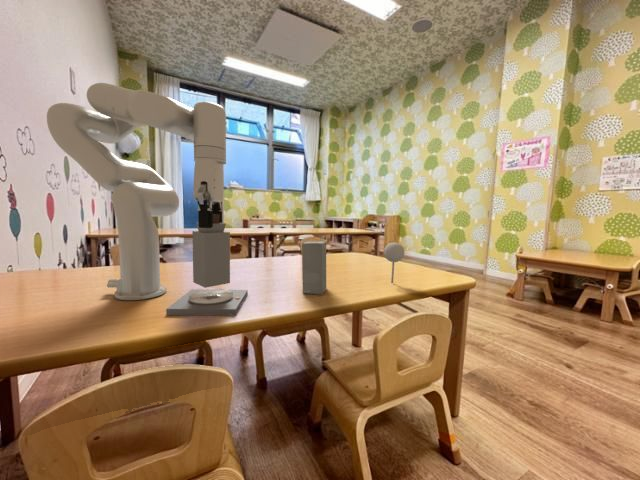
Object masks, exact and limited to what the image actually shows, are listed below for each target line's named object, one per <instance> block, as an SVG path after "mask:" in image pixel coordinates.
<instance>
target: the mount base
mask: <svg viewBox="0 0 640 480" xmlns="http://www.w3.org/2000/svg"><path fill="white" fill-rule="evenodd" d="M247 296H248V289H225V288H224V289H223V288H207V289H206V288H205V289H198V288H197V289H196V288H194V289H190V290H189V291H188V292H186V293H185V294H184V295H182V296H181V297H180V298H178V299H177V300H176V301H174V302H173V303H172V304H171V305H169V306H168V307H166V309H165V310H166V311H165V314H166V315H165V316H237V314H238V312H239V310H240V309H241V307H242V305H243V303H244V302H245V300H246V298H247Z"/></svg>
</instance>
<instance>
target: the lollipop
mask: <svg viewBox="0 0 640 480" xmlns="http://www.w3.org/2000/svg"><path fill="white" fill-rule="evenodd" d="M383 255H384V258H385V259H386V260H387V261H389V262H391V263H392V264H391V281H390V284H391V283H393V284H394V278H395V277H394V273H395V272H394V271H395V263H398V262H400V261H402V260H403V259H404V256H405V248H404V247H403V246H402V244H401V243H398V242H396V241H395V242H390V243H388V244H387V245H385V247H384V249H383Z"/></svg>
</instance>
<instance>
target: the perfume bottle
mask: <svg viewBox="0 0 640 480" xmlns="http://www.w3.org/2000/svg"><path fill="white" fill-rule="evenodd" d="M219 220H220V214H213V227H212V228H199V221H197V222H195V224H196V226H197V230H192V233H191V234H192V282H193V283H194V284H196V285H199V286H200V287H202V288H205V289H206V288H211V287H216V286H222V285H228V284H230V283H231V239H230V238H231V233H230V231H225V227H226V225H227V223H224V222H222V223H219Z"/></svg>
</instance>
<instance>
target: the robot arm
mask: <svg viewBox="0 0 640 480" xmlns="http://www.w3.org/2000/svg"><path fill="white" fill-rule="evenodd" d="M86 98H87V99H86V100H87V102H88V103H89V105H90V106H91V107H92V108H93V109H92V108H91V109H90V108H88V107H85V106H83V105H82V106H81V105H78V104H74V103H68V102H57V103H55V104H52V105H50V106H49V108H48V110H47V112H46V123H47V124H46V125H47V128H48V131H49V133H50V135H51V137H52V139H53V141H54V142H55V144H56V145H57V146H58V147H59V148H60V149H61V150H62V151H63V152H64V153H65V154H67V155H68V156H69V157H70V158H72V160H74V161H75V162H76V163H77V164H78V165H80V167H81V168H82V169H83V170H84V171H85V172H86V173H87V174H88V175H89V176H90V177H91V178H92V179H93V180H94V181H95V182H96V183H97V184H98V185H99V186H100V187H101V188H102V189H104V190H105V191H108V192H112V194H111V202H112V206H113V210H114V213H115V214H114V215H115V217H116V222H117V223H116V224H117V235H118V251H119V253H118V254H119V271H120V272H119V274H120V279H119V278H118V279H117V278H115V279H113V278H111V279H108V281H107V284H106V287H107V288H111V289H112V288H116V290H115V292H114V298H115V299H116V300H121V301H139V300H140V301H141V300H148V299H153V298H156V297H160V296H163V295H164V294H166V292H167V287H166V286H165V285H162V284H161V268H160V267H161V266H160V265H161V264H160V260H161V259H160V239H159V236H160V235H159V229H158V227H157V225H156V223H155V220H153V218H152V217H169V216H170V215H171V216H172V215H173V214H175V213H176V212H177V211H178V209H179V206H180V199H179V196H178V194H177V192H176V190H175V189H174V188H173V187H172V186H171V185H170V184H169V183H168V181H166V180H165V179H164V178H163V177H161V175H159V174H158V172H156V170H154V169H153V168H152V167H150V166H148V165H146V164H145V163H141V162H137V161H136V162H135V161H131V160H126V159H123V158H120V157H118V156H117V155H115V154H114V153H113V152H112V151H111V150H110V149H109V148H108V147H107V146H106V145H104V144H116V143H118V142H121V141H123V140H124V139H125V138H126V137H127V136H129V135H130V134H132V133H133V132H134V131H136V130H137V129H138V128H140V127H146V126H149V127H152V128H156V129H158V130H161V131H164V132H167V133H171V134H173V135H176V136H178V137H181V138H185V139H187V140H193V162H194V168H193V169H194V170H193V189H192V190H193V192H192V194H193V195H192V196H193V197H192V198H193V200H195V201H196V202H197V205H198V206H197V211H198V212H197V213H198V215H197V216H198V221H197V222H199V228H212V227H213V214H220V220H219V223H223V206H222V202H223V201H224V195H225V193H224V189H225V187H224V169H223V166H224V165H226V164H227V123H226V122H227V121H226V120H227V116H226V115H227V114H226V110H225V108H224V107H223V106H222V105H220V104H218V103H214V102H210V101H199V102H197V103H195V104H194V106H193V108H192V107H189V106H187V105H186V104H184V103H181V102H179V101H177V100H175V99H173V98H171V97H168V96H166V95H162V94H159V93H155V92H151V91H148V90H144V89H137V90H135V89H130V88H125V87H123V86H119V85H114V84H112V83H108V82H107V83H106V82H96V83H94V84H92V85H90V86H89V87H88V88H87V90H86ZM103 143H104V144H103Z"/></svg>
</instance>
